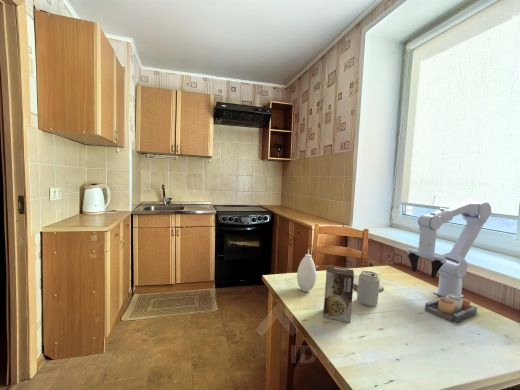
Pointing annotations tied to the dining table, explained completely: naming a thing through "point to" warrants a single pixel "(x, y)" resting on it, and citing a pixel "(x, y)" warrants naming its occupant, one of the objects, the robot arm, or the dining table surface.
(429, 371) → the dining table surface
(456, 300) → the grey jar
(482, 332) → the dining table surface
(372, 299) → the can
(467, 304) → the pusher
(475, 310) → the grey tray
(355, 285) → the washcloth
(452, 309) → the terracotta jar
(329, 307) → the coffee box
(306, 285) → the sauce bottle
